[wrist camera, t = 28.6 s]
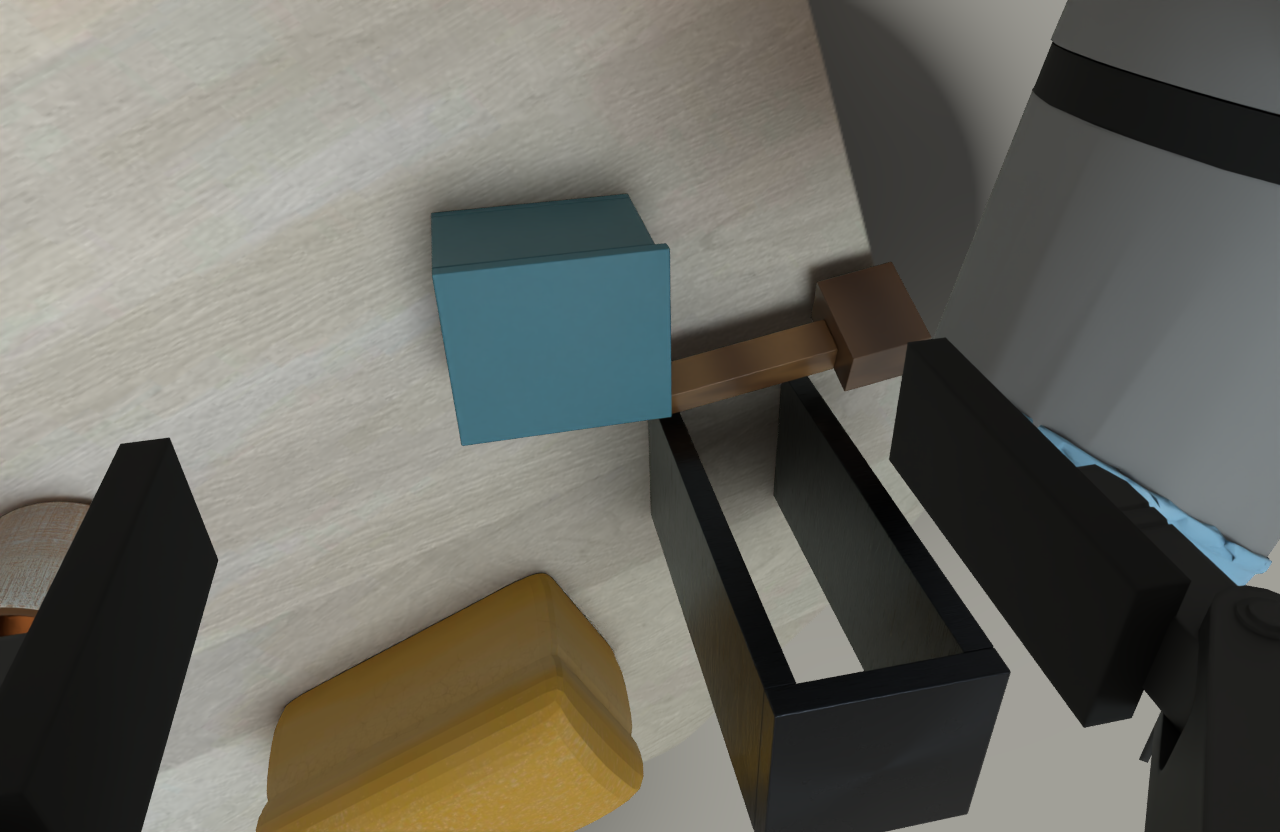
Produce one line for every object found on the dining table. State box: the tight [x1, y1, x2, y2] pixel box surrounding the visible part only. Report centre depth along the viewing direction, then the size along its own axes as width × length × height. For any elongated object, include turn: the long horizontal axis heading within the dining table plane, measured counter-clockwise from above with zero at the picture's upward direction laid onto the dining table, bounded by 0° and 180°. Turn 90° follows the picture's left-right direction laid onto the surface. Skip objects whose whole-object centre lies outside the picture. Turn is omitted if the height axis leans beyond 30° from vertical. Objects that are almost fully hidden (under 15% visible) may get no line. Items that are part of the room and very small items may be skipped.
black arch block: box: [648, 376, 1010, 832], centre depth 53 cm, size 11×11×27 cm
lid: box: [432, 243, 672, 446], centre depth 48 cm, size 12×10×1 cm
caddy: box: [431, 194, 655, 269], centre depth 51 cm, size 11×10×8 cm
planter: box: [0, 502, 90, 637], centre depth 55 cm, size 11×11×10 cm
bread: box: [256, 573, 643, 832], centre depth 66 cm, size 24×13×15 cm, turn 117°
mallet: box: [671, 262, 931, 414], centre depth 56 cm, size 17×6×4 cm
